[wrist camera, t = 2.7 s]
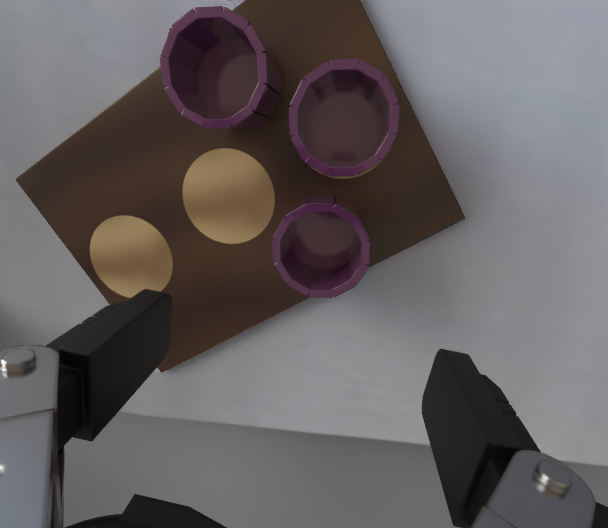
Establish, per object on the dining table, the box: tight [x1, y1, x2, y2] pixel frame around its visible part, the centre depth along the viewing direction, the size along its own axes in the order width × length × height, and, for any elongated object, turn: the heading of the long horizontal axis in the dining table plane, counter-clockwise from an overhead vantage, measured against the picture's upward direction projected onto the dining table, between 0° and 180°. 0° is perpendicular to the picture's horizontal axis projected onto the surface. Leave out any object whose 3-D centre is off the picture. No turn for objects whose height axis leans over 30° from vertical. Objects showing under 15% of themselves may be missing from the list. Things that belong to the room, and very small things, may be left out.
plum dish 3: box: [272, 194, 371, 298], centre depth 23 cm, size 6×6×4 cm
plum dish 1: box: [160, 6, 282, 132], centre depth 21 cm, size 6×6×4 cm
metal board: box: [16, 0, 465, 372], centre depth 25 cm, size 18×26×1 cm
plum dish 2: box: [289, 58, 400, 177], centre depth 21 cm, size 6×6×4 cm
